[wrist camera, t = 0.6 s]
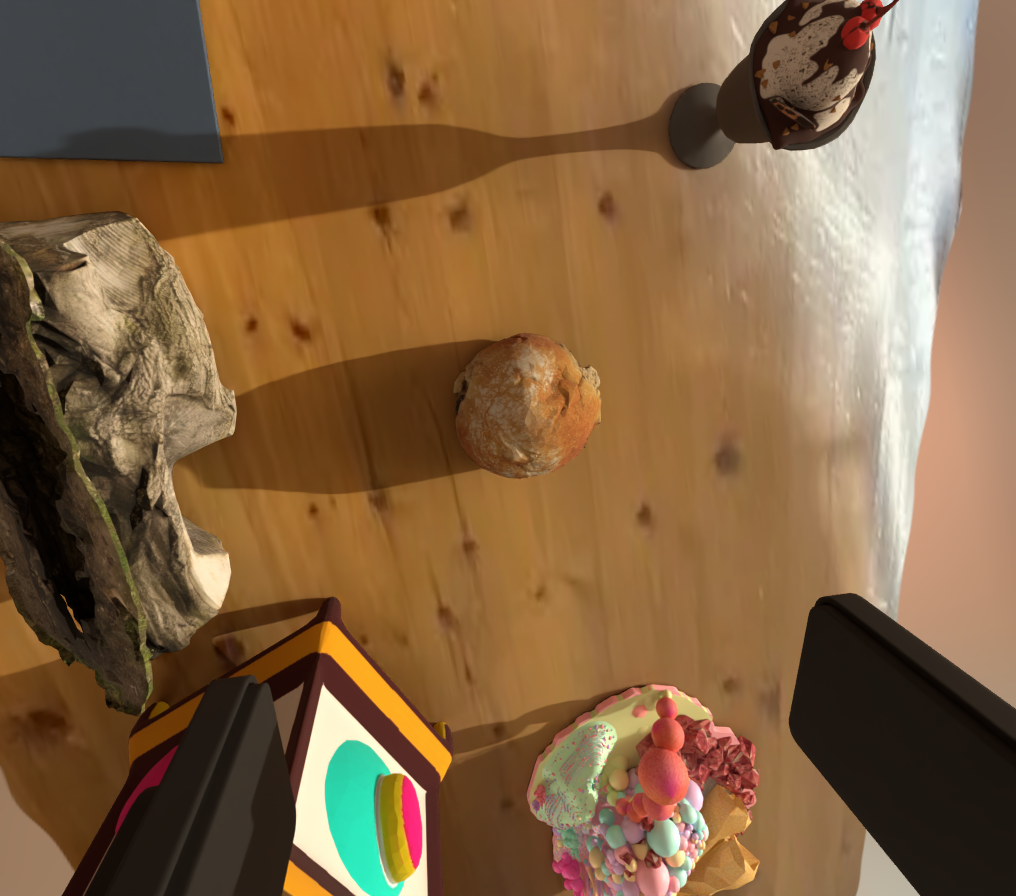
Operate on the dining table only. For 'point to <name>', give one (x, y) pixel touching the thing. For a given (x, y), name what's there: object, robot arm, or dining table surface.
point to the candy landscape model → (647, 798)
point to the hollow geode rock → (104, 446)
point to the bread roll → (525, 406)
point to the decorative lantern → (324, 768)
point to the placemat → (106, 81)
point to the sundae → (785, 83)
